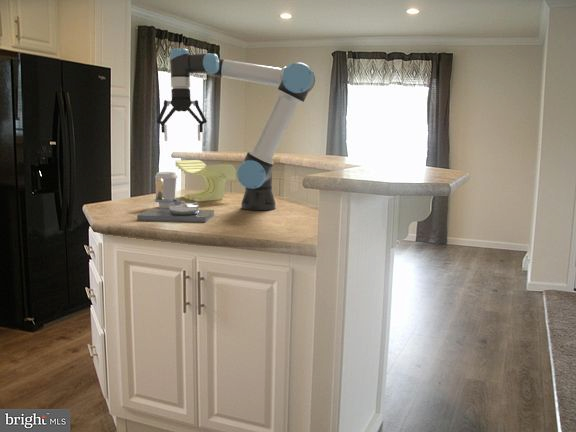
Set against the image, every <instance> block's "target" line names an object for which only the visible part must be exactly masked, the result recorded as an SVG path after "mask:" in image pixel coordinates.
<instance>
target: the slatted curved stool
mask: <svg viewBox="0 0 576 432" xmlns="http://www.w3.org/2000/svg"><path fill="white" fill-rule="evenodd" d="M175 167H178V169H179V170H180V171H181V172H183V174H186V175H192V176H197V177H198V176H201V177H202V178H203V180H204V182H205V188H204V189H203V190H202V191H199V192H196V193H195V192H194V193H188V194H187V193H186V194H185V195H184V197H183V199H186V200H190V201H195V202H206V201H207V202H209V201H217V200H219V201H221V200H222V199H223V198H224V196H225V192H226V185H227V181H234V180H235V181H236V177H237V169H236V168H235V166H234V164H232V163H220V164H206V163H205V162H204V161H202V160H200V159H187V160H185V159H184V160H183V159H182V160H175Z"/></svg>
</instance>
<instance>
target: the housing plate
mask: <svg viewBox="0 0 576 432" xmlns="http://www.w3.org/2000/svg"><path fill="white" fill-rule="evenodd" d="M214 215H215V210H214V209H199V213H197V214H191V215H176V214H171V213H170V208H149V209H146V210H145V211H142V212H140V213H139V214H137V216H136V217H137V220H139V222H141V221H146V222H151V221H152V222H176V223H177V222H178V223H181V222H182V223H183V222H184V223H207V222H208V221H209V220H210V219H211V218H212V217H213V216H214ZM137 220H136V221H137Z"/></svg>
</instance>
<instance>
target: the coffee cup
mask: <svg viewBox="0 0 576 432" xmlns="http://www.w3.org/2000/svg"><path fill="white" fill-rule="evenodd" d="M154 178H155V180H156V179H163V191H164V199H167V200H173V199H176V189H177V188H176V185H177V178H178V175H177V174H176V172H171V171H170V172H169V171H163V172H161V171H160V172H156V174H155V176H154ZM158 207H159V209H170V204H168V203H159V202H158Z"/></svg>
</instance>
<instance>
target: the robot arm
mask: <svg viewBox="0 0 576 432" xmlns="http://www.w3.org/2000/svg"><path fill="white" fill-rule="evenodd" d="M169 58H170V59H169V63H170V64H169V66H170V86H171V87H170V88H172V89H171V90H170V91H171V101H170V100H164V101H163V107H162V109H161V111H160V113H159V115H158V118H157V120H156V123H157V124H159V125H160V126H161V133H164V141H165V142H167V141H168V125H167V124H166V123H168V121H169V119H170V118H171V116H173V115H174V113H175V112H189V114H190V115H191V116H192V117H193V119H195V120H196V122H197V123H198V124H197V141H201V133H203V130H204V129H203V125H204V124H206V123H207V122H208V121H207V119H206V116H205V115H204V113H203V111H202V109H201V107H200V106H199V100H198V99H196V100H191V90H190V88H191V83H190V82H191V81H190V80H191V79H190V77H191V76H190V75H191V74H205V75H208V76H209V77H212V78H214V77H215V78H216V77H217V78H222V79H223V78H224V79H230V80H238V81H242V82H248V83H249V82H250V83H255V84H261V85H267V86H272V87H273V86H274V87H277V93H278V96H277V98H276V101H275V103H274V105H273V107H272V109H271V111H270V113H269V116H268V117H267V120H266V121H265V124H264V126H263V129H262V130H261V132H260V134H259V136H258V138H257V141H256V143H255V145H254V146H253V149H250V150H248V151H247V152H246V155H245V157H244V159H243V162H242V163H240V165H239V166H238V168H237V170H236V177H237V179H238V182H239V183H240V185H241V186H243V187H244V188H245V191H244V194H243V196H242V197H243V198H242V199H241V203H240V206H241V209H243V210H246V211H247V210H248V211H271V210H274V209H275V210H276V205H277V204H276V201H275V200H276V199H275V196H274V193H273V166H274V164H275V163H274V160H273V158H274V155H275V153H276V151H277V149H278V148H279V145H280V143H281V141H282V139H283V137H284V134H285V133H286V131H287V129H288V127H289V124H290V123H291V120H292V119H293V117H294V114H295V112H296V110H297V108H298V106H299V105H300V104H304V102H305V100H306V98H307V95H309V92H311V91H312V90H313V88H314V86H315V83H316V76H315V73H314V72H313V70H312V68H311V67H310V66H309V65H308V64H306V63H303V62H292V63H290V64H289V65H287V66H283V67H282V68H281V67H276V66H275V67H274V66H269V65H262V64H255V63H249V62H243V61H235V60H230V59H223V58H219V57H218V54H216V53H208V52H207V53H190V51H189V49H187V48H172V49H171V50H170V54H169ZM170 105H171V106H172V109H171V110H170V111H169V112H168V114H166V116H165V117H164V115H165V113H166V110H167V108H168V107H169V106H170ZM192 105H193V106H194V107H195V109H196V110H197V112H198V114H199V115H200V118H199V116H197V114H196V113H195V112H194V111H193V110H192V109H191V108H190V107H191V106H192ZM163 117H164V119H163ZM201 119H202V120H201Z"/></svg>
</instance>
